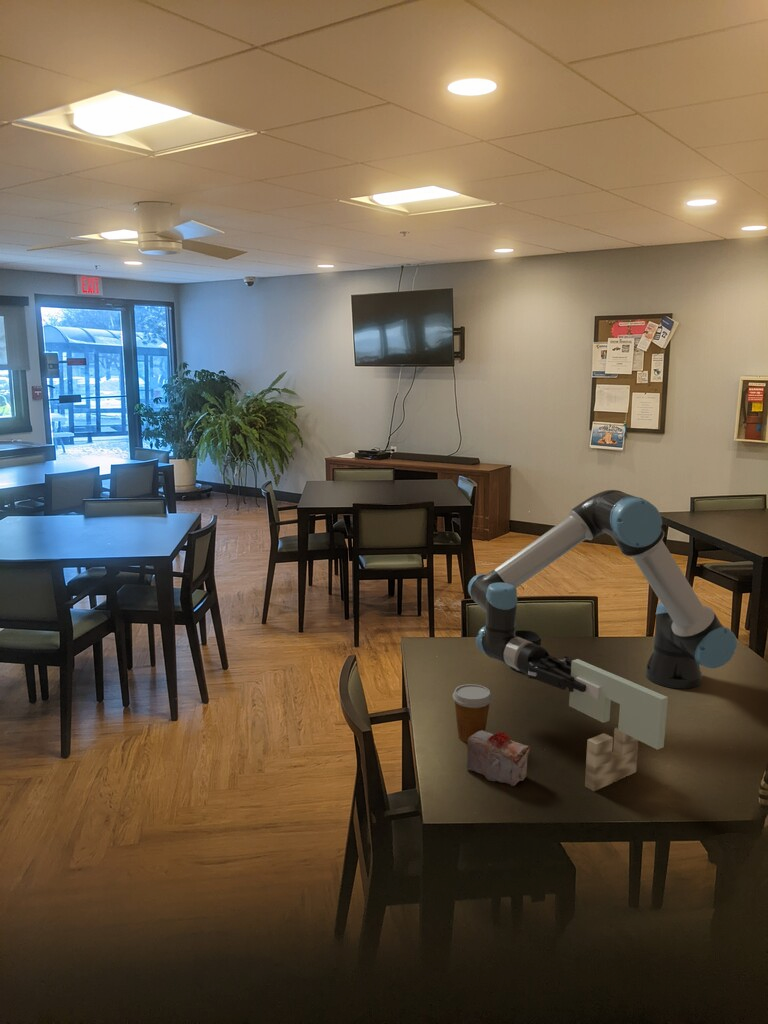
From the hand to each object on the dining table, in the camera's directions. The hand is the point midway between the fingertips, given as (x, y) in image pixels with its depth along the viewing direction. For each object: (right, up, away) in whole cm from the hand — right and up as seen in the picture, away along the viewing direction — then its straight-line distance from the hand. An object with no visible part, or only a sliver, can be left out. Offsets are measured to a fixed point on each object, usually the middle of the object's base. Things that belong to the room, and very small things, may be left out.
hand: (603, 691), depth 170 cm
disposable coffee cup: (-27, -16, +20) cm, 37 cm away
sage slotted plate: (+2, -7, -2) cm, 7 cm away
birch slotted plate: (+2, -20, +1) cm, 20 cm away
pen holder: (-6, -7, +62) cm, 63 cm away
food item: (-23, -20, +3) cm, 30 cm away
